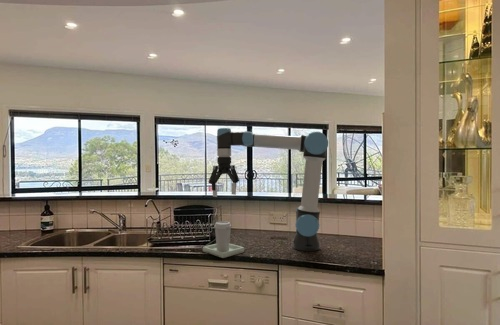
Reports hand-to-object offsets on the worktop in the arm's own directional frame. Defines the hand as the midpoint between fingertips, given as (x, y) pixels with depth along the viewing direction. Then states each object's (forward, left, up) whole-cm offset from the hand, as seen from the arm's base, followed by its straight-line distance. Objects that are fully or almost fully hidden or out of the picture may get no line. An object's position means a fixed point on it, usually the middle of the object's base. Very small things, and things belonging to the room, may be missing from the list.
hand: (224, 195), depth 177 cm
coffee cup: (0, +1, -30) cm, 30 cm away
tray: (0, +1, -31) cm, 31 cm away
